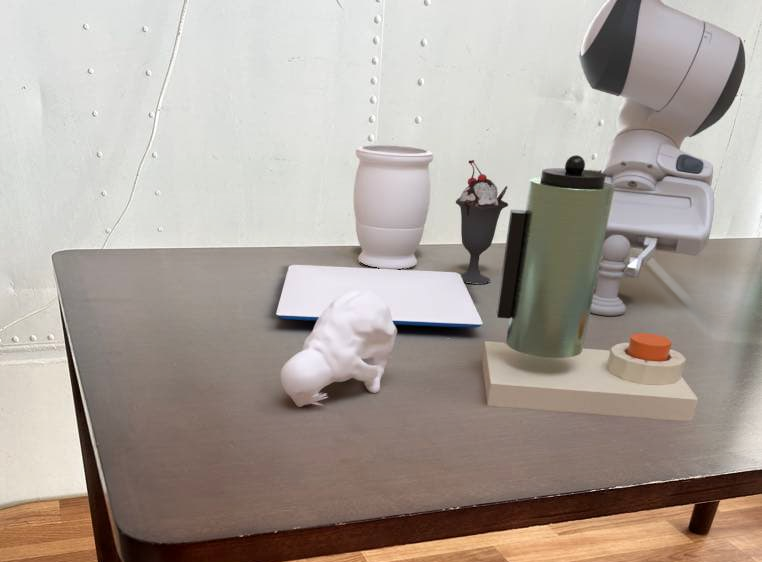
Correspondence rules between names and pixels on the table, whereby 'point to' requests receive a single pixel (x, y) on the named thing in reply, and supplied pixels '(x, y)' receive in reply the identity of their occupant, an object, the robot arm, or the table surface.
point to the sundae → (479, 221)
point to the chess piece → (610, 277)
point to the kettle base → (589, 383)
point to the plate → (381, 294)
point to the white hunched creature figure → (342, 347)
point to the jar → (391, 204)
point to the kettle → (554, 260)
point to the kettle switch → (649, 347)
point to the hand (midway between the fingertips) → (610, 271)
